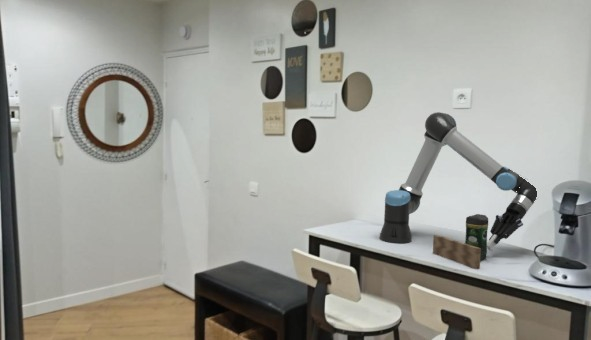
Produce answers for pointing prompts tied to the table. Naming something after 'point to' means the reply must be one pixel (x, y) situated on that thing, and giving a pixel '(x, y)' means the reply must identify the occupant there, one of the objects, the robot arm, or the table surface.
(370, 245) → the table surface
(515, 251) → the table surface
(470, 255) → the board
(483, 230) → the coffee jar
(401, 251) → the table surface
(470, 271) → the table surface
